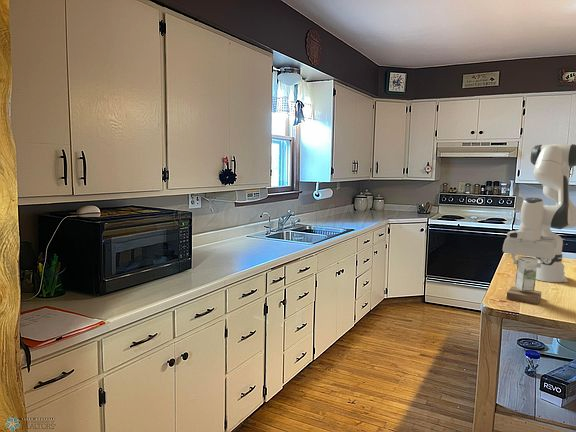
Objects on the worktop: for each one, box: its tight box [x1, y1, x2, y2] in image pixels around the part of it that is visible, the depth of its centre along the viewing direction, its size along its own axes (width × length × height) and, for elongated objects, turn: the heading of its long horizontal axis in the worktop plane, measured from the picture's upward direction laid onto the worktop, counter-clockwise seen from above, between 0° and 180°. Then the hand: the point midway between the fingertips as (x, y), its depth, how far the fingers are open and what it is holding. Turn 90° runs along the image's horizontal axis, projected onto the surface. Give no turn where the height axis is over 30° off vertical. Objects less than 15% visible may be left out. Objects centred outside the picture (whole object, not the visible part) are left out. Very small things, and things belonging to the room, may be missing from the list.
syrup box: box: [514, 256, 538, 291], centre depth 190 cm, size 6×6×14 cm
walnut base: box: [506, 286, 542, 306], centre depth 191 cm, size 12×12×3 cm
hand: (526, 265), depth 190 cm, fingers closed on syrup box, 8 cm apart
